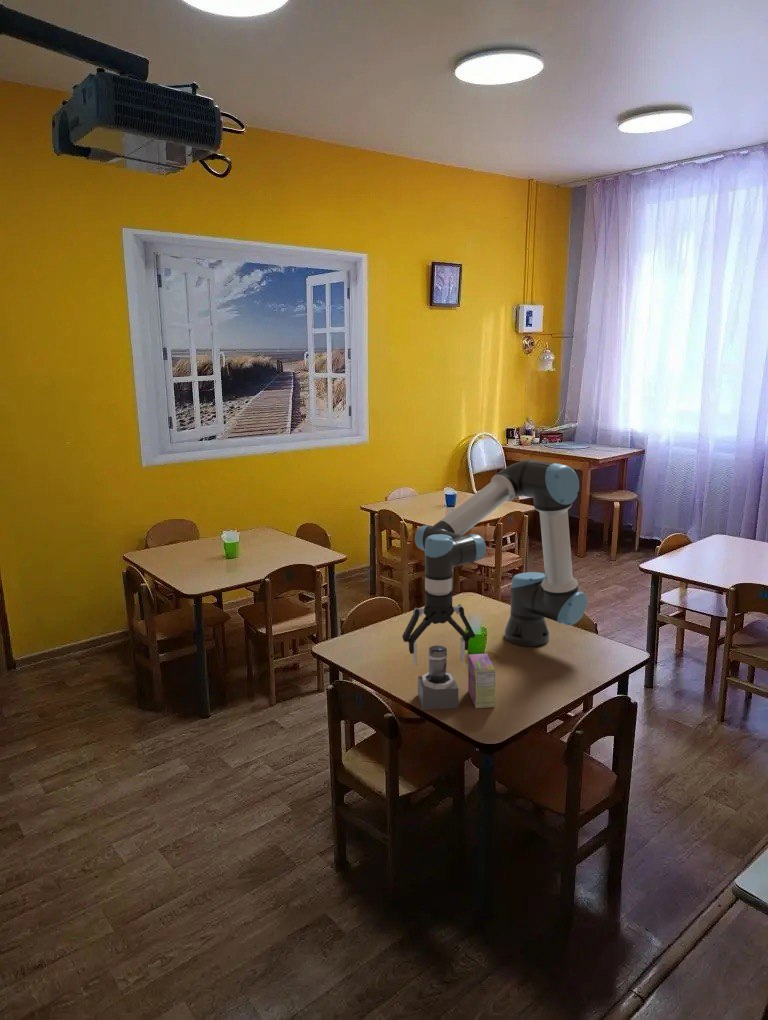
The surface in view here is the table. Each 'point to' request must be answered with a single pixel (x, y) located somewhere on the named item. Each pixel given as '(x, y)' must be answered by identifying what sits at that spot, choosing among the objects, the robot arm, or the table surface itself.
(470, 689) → the box
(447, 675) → the grey holed block
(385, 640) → the table surface
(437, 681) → the clear grey cylinder
